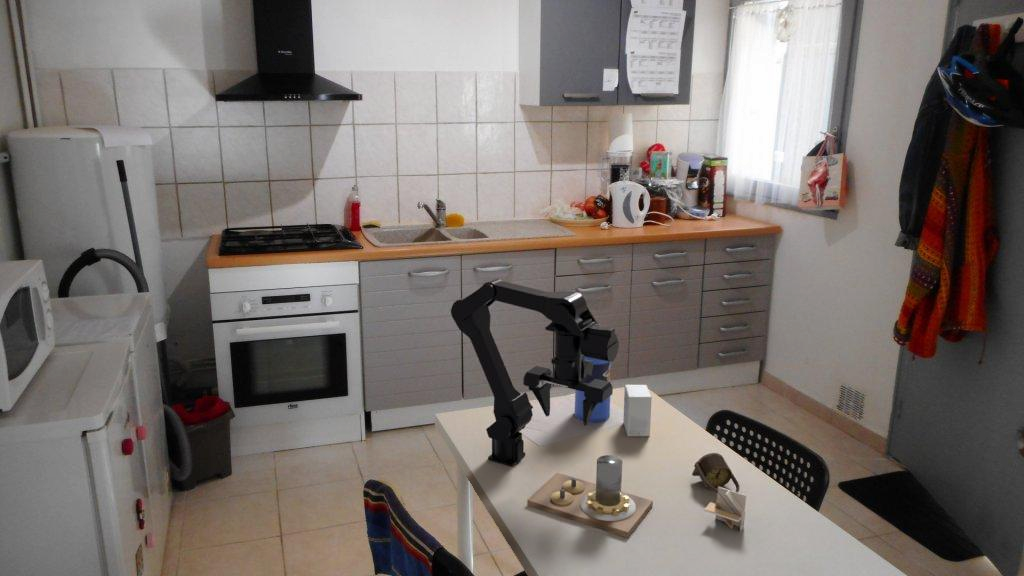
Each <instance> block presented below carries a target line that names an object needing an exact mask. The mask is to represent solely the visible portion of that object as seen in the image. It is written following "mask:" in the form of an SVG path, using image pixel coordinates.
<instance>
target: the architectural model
mask: <svg viewBox="0 0 1024 576" xmlns="http://www.w3.org/2000/svg"><path fill="white" fill-rule="evenodd" d="M717 489H718V494H717V496H716V500H715V503H714V502H712V501H710V502H709V503H708V504H707V506H706V507H705V508H704V512H707V513H710V514H713V515H715V520H716V519H717V520H719V521H722V522H725V523H726V525H727V526H728V527H729V529H733V527H734V526H737V527H739V532H740V533H742V531H743V530H744V528H745V518H746V503H747V502H746V500H747V499H746V498H747V495H746V494H743V493H742V492H741V493H740V492H738V493H737V492H735V491H734V490H730V489H728V488H724V487H723V486H722V487H718V488H717Z"/></svg>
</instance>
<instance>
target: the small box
mask: <svg viewBox="0 0 1024 576" xmlns="http://www.w3.org/2000/svg"><path fill="white" fill-rule="evenodd" d="M623 396H624V397H623V401H624V402H623V426H624V429H625V432H626V435H627V437H650V436H651V419H652V401H653V400H652V399H653V397H652V395H651V393H650V390H649V387H648V385H647V384H625V385H624V395H623Z"/></svg>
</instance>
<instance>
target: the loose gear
mask: <svg viewBox="0 0 1024 576" xmlns="http://www.w3.org/2000/svg"><path fill="white" fill-rule="evenodd" d="M595 473H596V474H595V475H596V476H595V478H596V479H595V484H596V492H595V493H589V494H588V495H587V500H588V501H587V508H588V509H593V510H594V511H596V514H597V515H600V516H602V515H603V514H606V515H612V516H613V517H616V516H618V514H619V513H621V512H623V511H624V512H627V511H628V510H629V497H628V496H623V495H622V494H621V492H622V477H623V460H622V459H621V458H620V457H618V456H615V455H609V454H608V455H607V454H606V455H601V456H599V457H597V459H596V472H595Z"/></svg>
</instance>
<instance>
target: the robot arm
mask: <svg viewBox="0 0 1024 576" xmlns="http://www.w3.org/2000/svg"><path fill="white" fill-rule="evenodd" d="M586 301H587V300H586V299H585V298H584V295H583V294H582V293H580V292H577V291H567V290H560V291H544V290H541V289H536V288H532V287H529V286H524V285H520V284H516V283H511V282H509V281H508V282H507V281H504V280H502V279H501V278H494V279H491V280H489V281H486V282H484V283H483V284H482V285H481V286H480V287H479V288H478V289H477V290H475V291H474V292H472V293H471V294H469V295H467V296H465V297H462V298H460V299H458V300H456V301H454V302H453V304H452V305H451V309H450V314H451V318H452V320H453V321H454V323H455V325H456V327H457V328H458V330H460V332H462V333H463V334H464V335H465V336H466V337H467V338H468V339H469V340H470V343H471V345H472V348H473V350H474V352H475V355H476V357H477V359H478V362H479V363H480V366H481V369H482V371H483V373H484V376H485V378H486V381H487V383H488V386H489V388H490V390H491V393H492V395H493V414H494V419H495V421H494V422H493V423H491V424H490V426H488V427H486V433H487V436H488V438H489V439H491V454H489V455H488V456H487V459H488V460H489V461H492V462H496V463H499V464H502V465H506V466H509V467H513V466H514V465H515V464H517V463H519V461H520V460H522V459H523V458H524V457H525V456H526V452H524V450H525V449H524V445H525V444H524V440H523V432H521V431H522V430H524V429H525V428H526V426H527V425H528V424H529V423H530V422H531V420H532V418H533V410H532V409H533V408H534V407H533V405H532V404H531V402H530V400H529V397H528V394H527V392H525V391H524V392H523V393H521V392H519V391H518V390H517V389H516V388H515V387H514V385H513V382H512V380H511V377H510V375H509V373H508V371H507V370H508V369H507V367H506V365H505V363H504V361H503V358H502V356H501V353H500V351H499V349H498V346H497V344H496V341H495V338H494V336H493V334H492V331H491V313H490V308H489V307H491V306H492V305H493V304H494V303H495V302H500V303H503V304H507V305H511V306H516V307H520V308H523V309H525V310H526V309H527V310H531V311H533V312H534V311H535V312H537V313H540V314H542V315H543V316H544V317H545V318H546V319H547V320H549V321H551V322H550V323H549V324H548V325H547V326H545V331H548V332H554V353H553V355H554V356H553V357H552V358H551V360H550V361H551V364H553V370H554V371H553V373H552V370H551V369H550V368H547V367H543V366H539V365H536V366H534V367H533V368H531V369H529V370H528V371H526V372H525V373H524V375H523V380H522V381H523V383H522V385H524V386H525V387H528V391H532V393H533V395H534V397H535V399H536V400H537V401H538V404H539V406H540V407H541V410H542V411H543V413H544V415H545V417H549V416H550V412H551V389H552V385H554V386H558V387H563V388H566V389H571V390H574V391H575V390H579V391H583V392H584V396H585V398H586V399H584V400H583V421H582V423H583V427H587V426H588V425H589V423H590V422H589V420H590V418H591V415H592V413H593V410H594V408H595V406H596V405H597V404H598V403H602V402H604V401H605V400H606V399H607V398H608V397H610V398H611V396H612V395H613V392H614V390H613V389H614V387H613V385H612V383H611V381H610V382H608V381H603V380H599V379H594V380H593V381H592V382H590V383H585V382H581V379H585V378H586V375H590V376H591V374H592V368H593V363H594V362H593V361H589V360H585V357H589V358H594V359H599V360H604V361H608V362H611V363H612V362H614V361H615V360H616V358H617V355H618V352H619V347H620V346H619V345H620V341H619V339H618V335H617V334H615V333H616V330H615V328H614V327H603V326H602V327H599V326H594V325H596V324H597V323H598V322H597V320H596V319H595V317H594V314H593V313H592V312H591V311H590V309H589V307H588V304H587V302H586ZM579 319H581V321H579V322H577V321H578V320H579ZM582 354H583V355H582ZM584 356H585V357H584Z"/></svg>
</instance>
